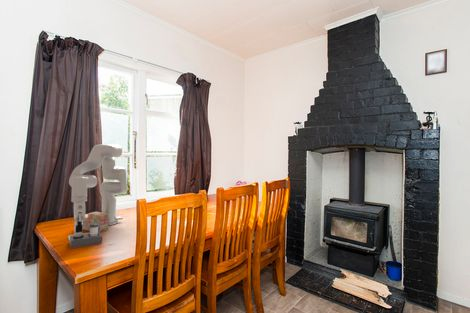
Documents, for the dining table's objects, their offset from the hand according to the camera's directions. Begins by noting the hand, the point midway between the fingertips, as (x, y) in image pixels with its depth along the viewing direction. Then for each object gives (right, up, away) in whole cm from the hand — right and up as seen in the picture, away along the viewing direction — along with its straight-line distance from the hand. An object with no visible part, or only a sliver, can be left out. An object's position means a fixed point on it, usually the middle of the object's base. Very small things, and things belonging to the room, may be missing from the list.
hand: (78, 230), depth 139 cm
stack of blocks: (-9, -9, +29) cm, 32 cm away
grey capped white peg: (+6, -8, +5) cm, 11 cm away
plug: (0, -3, 0) cm, 3 cm away
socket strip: (+3, -9, +2) cm, 10 cm away
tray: (-7, -9, +12) cm, 16 cm away
